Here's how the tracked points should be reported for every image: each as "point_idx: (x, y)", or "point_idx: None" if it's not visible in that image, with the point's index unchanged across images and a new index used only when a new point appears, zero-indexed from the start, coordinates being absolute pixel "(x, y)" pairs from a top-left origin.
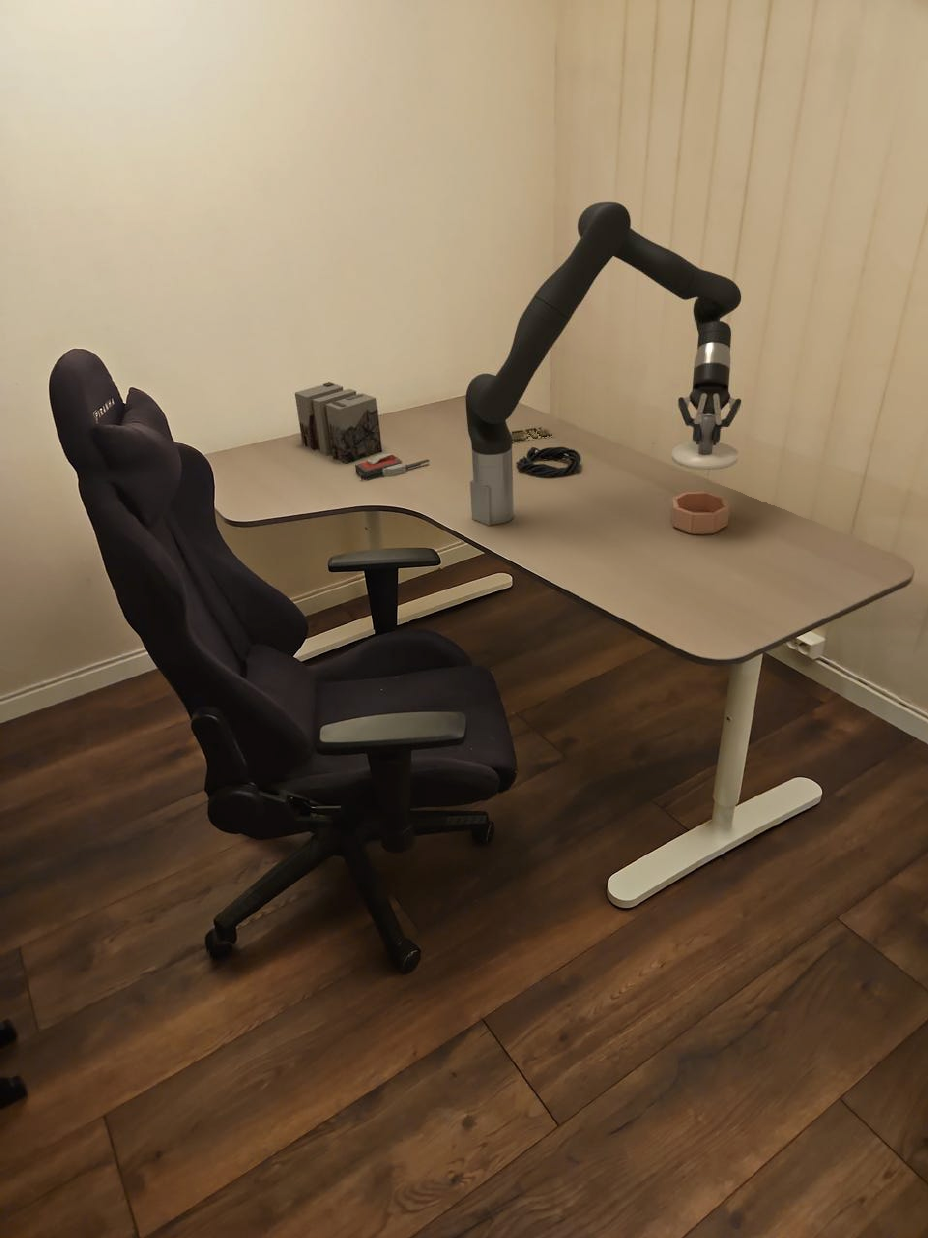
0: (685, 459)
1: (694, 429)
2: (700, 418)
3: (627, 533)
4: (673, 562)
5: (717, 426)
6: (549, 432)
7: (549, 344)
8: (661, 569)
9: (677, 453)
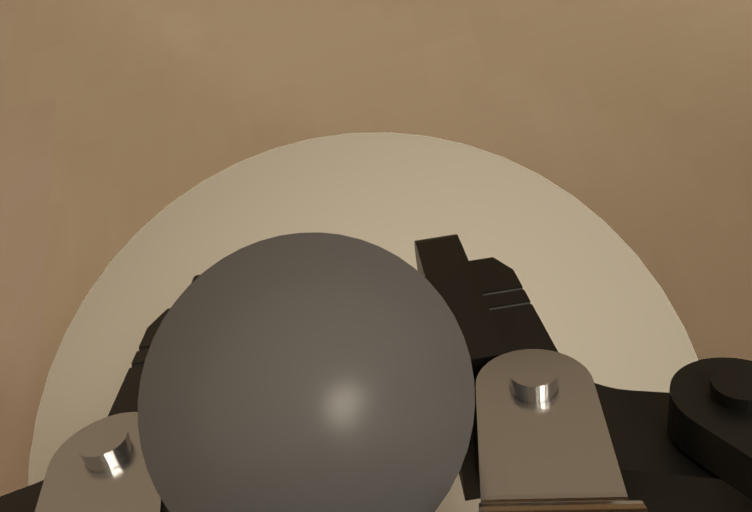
0: (513, 207)
1: (531, 331)
2: (487, 444)
3: (682, 245)
4: (421, 64)
5: None
6: None
7: None
8: (451, 5)
9: (632, 338)
